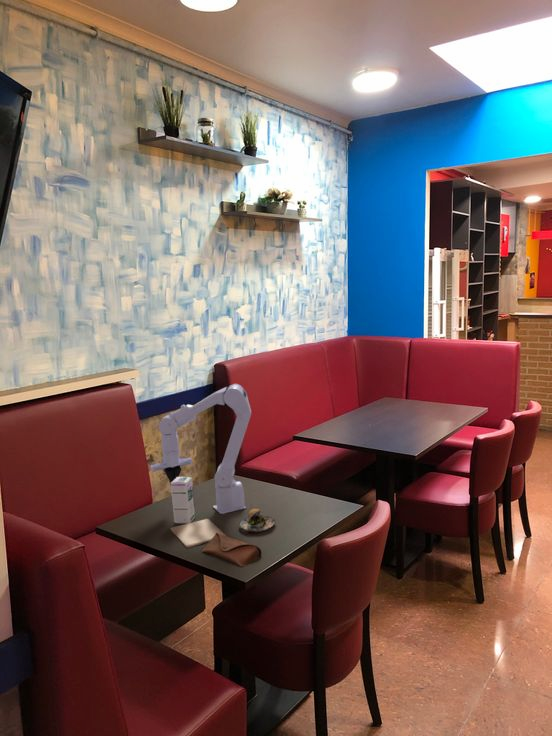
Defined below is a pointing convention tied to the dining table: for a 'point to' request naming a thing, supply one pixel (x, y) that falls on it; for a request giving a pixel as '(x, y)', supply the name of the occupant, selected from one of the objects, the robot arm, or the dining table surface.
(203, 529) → the beige folded napkin
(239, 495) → the robot arm
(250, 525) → the burger
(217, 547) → the sunglasses case
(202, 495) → the dining table surface
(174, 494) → the syrup box
